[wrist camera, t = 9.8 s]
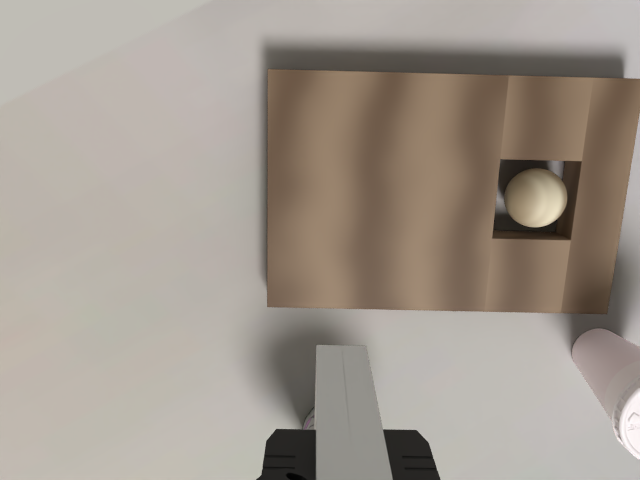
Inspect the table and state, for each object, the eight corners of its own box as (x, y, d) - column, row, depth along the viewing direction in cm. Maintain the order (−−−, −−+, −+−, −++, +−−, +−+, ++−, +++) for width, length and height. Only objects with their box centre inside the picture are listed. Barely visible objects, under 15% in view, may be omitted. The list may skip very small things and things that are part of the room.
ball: (583, 170, 38) (547, 174, 35) (575, 229, 39) (538, 236, 36) (531, 163, 41) (495, 166, 39) (524, 217, 42) (489, 223, 40)
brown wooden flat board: (624, 79, 39) (645, 78, 36) (590, 301, 43) (607, 314, 40) (270, 70, 38) (267, 69, 36) (270, 294, 42) (267, 306, 40)
